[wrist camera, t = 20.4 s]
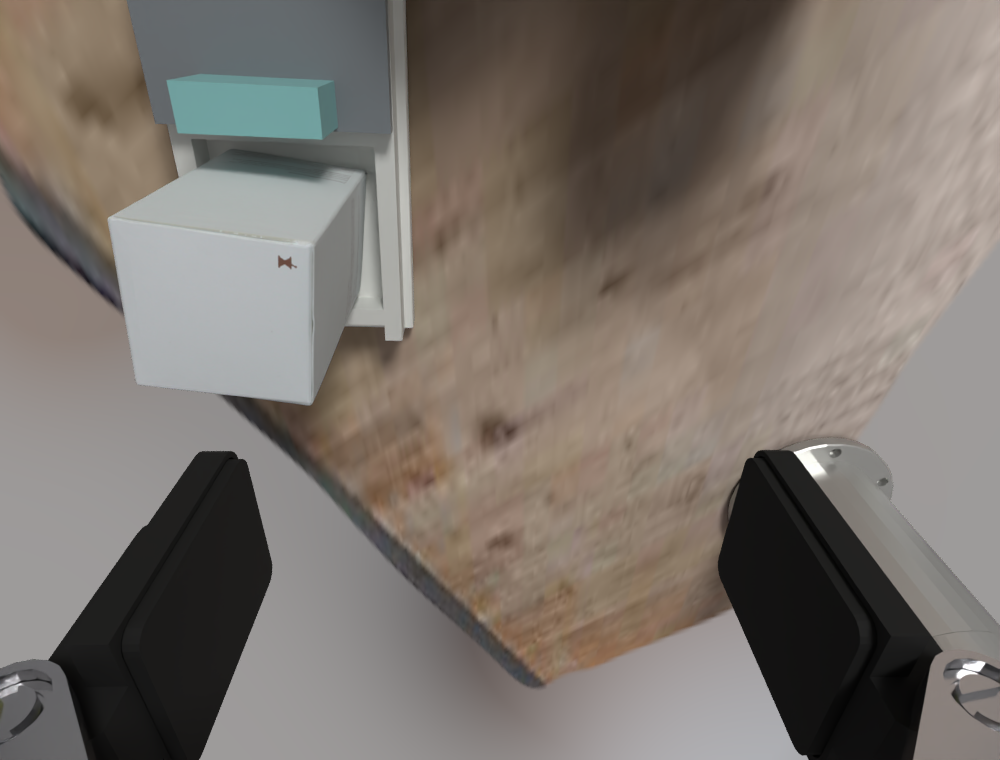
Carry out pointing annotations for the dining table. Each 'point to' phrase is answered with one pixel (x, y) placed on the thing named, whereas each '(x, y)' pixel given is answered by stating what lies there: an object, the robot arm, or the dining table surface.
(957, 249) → the dining table surface
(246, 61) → the gray and teal box
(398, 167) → the open white tray
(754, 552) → the robot arm
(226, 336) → the supplement box
